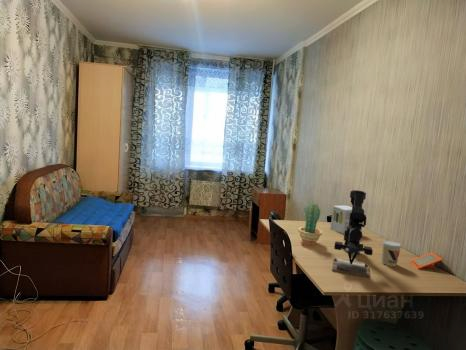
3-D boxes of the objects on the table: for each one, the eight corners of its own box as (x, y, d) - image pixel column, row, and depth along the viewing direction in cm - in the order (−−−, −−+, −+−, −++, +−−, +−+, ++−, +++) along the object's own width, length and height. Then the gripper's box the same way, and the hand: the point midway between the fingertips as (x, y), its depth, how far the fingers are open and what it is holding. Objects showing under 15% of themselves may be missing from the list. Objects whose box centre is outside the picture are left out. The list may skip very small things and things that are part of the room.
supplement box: (329, 228, 270) (332, 205, 268) (342, 227, 277) (345, 205, 274) (342, 234, 259) (345, 210, 256) (356, 232, 265) (359, 209, 263)
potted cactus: (319, 240, 239) (324, 202, 236) (323, 247, 224) (327, 208, 221) (295, 237, 241) (300, 200, 237) (297, 244, 225) (302, 205, 222)
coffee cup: (387, 267, 200) (390, 246, 198) (376, 260, 209) (379, 240, 207) (401, 266, 202) (404, 246, 201) (390, 260, 211) (393, 240, 210)
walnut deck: (333, 261, 201) (333, 257, 201) (367, 267, 196) (368, 264, 196) (332, 271, 187) (332, 266, 187) (369, 278, 182) (369, 273, 182)
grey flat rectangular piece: (337, 260, 199) (337, 256, 199) (364, 265, 196) (364, 261, 195) (336, 268, 188) (337, 264, 188) (365, 273, 184) (365, 269, 184)
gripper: (335, 236, 184) (332, 265, 186) (375, 242, 178) (370, 272, 180) (336, 230, 194) (332, 258, 196) (373, 236, 189) (369, 265, 191)
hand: (351, 263), depth 191 cm, fingers closed
